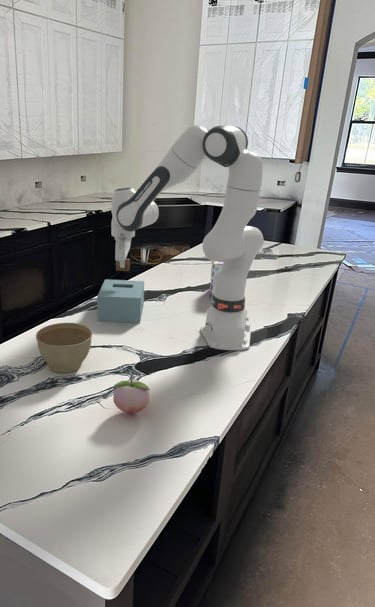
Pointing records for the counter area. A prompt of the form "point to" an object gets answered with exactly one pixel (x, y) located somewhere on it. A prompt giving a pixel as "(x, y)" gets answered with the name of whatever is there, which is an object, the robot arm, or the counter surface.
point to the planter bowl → (64, 345)
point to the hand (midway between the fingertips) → (122, 266)
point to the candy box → (215, 268)
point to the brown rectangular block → (124, 267)
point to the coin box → (121, 301)
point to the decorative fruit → (131, 396)
